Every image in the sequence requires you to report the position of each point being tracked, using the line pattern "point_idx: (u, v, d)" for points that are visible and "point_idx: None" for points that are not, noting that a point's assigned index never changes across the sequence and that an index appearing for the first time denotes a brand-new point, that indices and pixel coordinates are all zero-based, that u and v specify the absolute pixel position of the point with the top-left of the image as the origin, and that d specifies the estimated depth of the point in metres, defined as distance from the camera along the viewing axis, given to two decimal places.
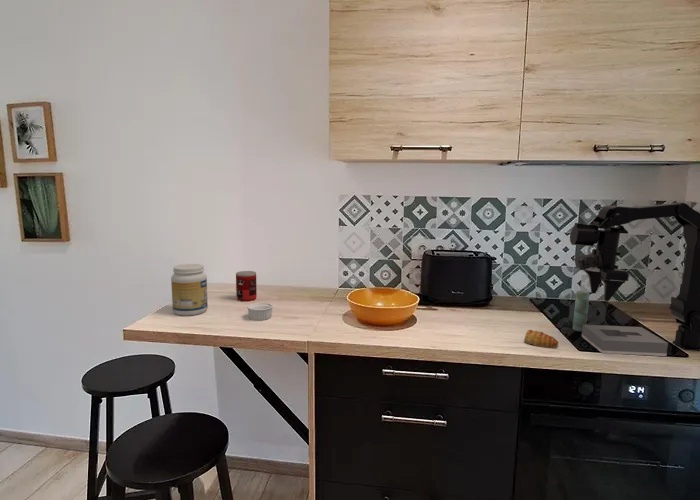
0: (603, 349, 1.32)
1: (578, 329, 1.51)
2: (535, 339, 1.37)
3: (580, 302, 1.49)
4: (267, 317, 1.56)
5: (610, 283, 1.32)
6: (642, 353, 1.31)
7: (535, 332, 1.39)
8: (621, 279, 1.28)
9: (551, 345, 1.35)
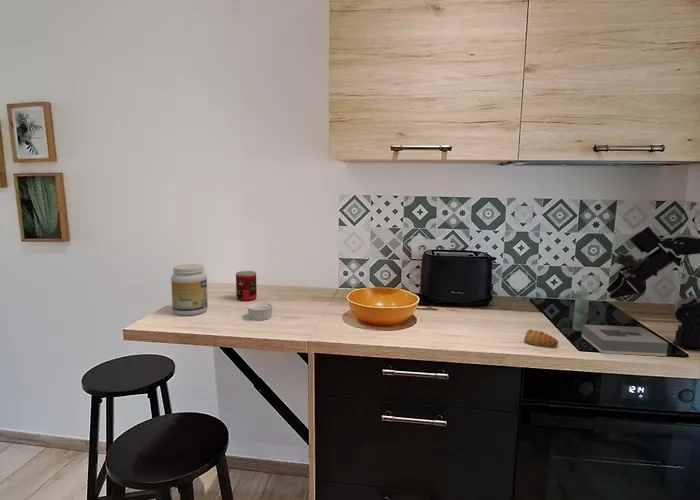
0: (603, 349, 1.32)
1: (578, 329, 1.51)
2: (535, 339, 1.37)
3: (580, 302, 1.49)
4: (267, 317, 1.56)
5: (626, 287, 1.40)
6: (642, 353, 1.31)
7: (535, 332, 1.39)
8: (636, 288, 1.35)
9: (551, 345, 1.35)
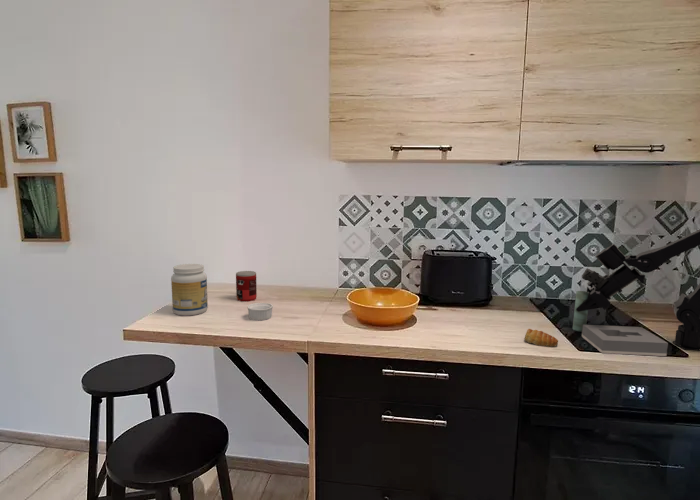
0: (603, 349, 1.32)
1: (578, 329, 1.51)
2: (535, 338, 1.37)
3: (580, 302, 1.49)
4: (267, 317, 1.56)
5: (591, 301, 1.47)
6: (642, 353, 1.31)
7: (535, 331, 1.40)
8: (600, 304, 1.40)
9: (551, 344, 1.36)
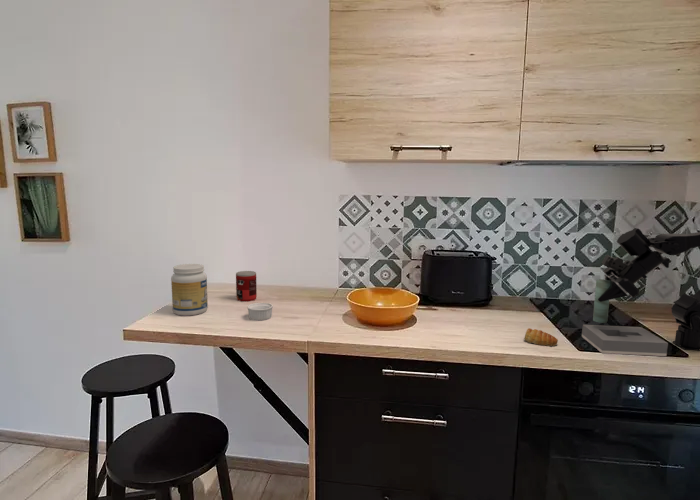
0: (603, 349, 1.32)
1: (600, 320, 1.40)
2: (535, 338, 1.38)
3: (602, 291, 1.39)
4: (267, 317, 1.56)
5: (614, 289, 1.36)
6: (642, 353, 1.31)
7: (535, 331, 1.40)
8: (629, 292, 1.30)
9: (551, 343, 1.36)
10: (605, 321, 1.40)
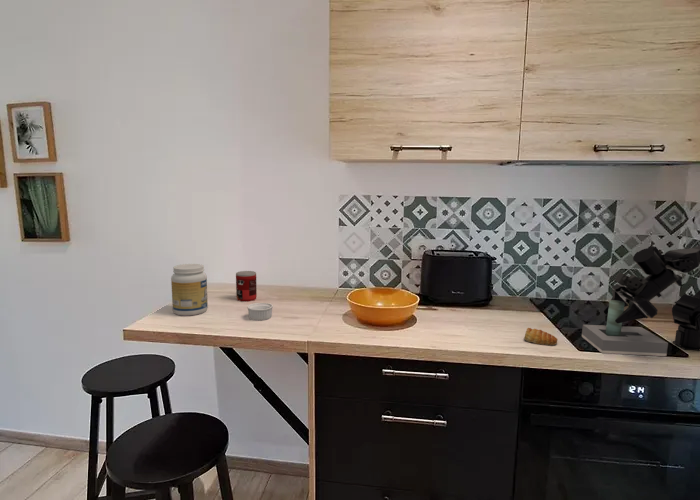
0: (603, 349, 1.32)
1: None
2: (535, 337, 1.38)
3: (616, 313, 1.35)
4: (267, 317, 1.56)
5: (633, 310, 1.30)
6: (642, 353, 1.31)
7: (534, 330, 1.41)
8: (648, 312, 1.26)
9: (551, 342, 1.37)
10: None
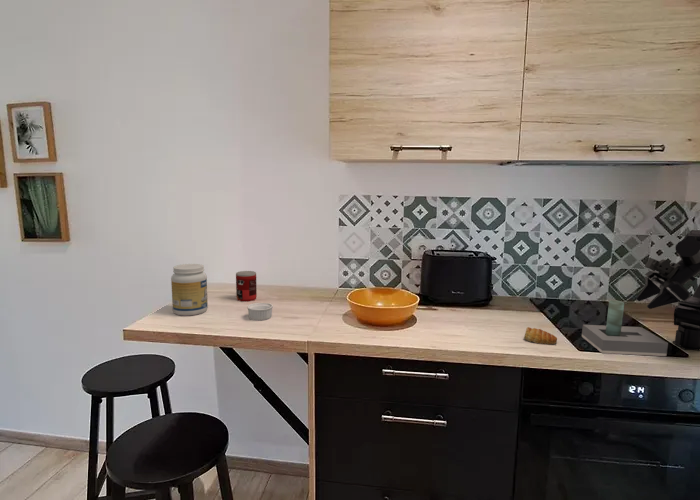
0: (603, 349, 1.32)
1: None
2: (535, 336, 1.39)
3: (616, 313, 1.35)
4: (267, 317, 1.56)
5: (665, 295, 1.29)
6: (642, 353, 1.31)
7: (534, 329, 1.41)
8: (680, 296, 1.24)
9: (551, 342, 1.38)
10: None
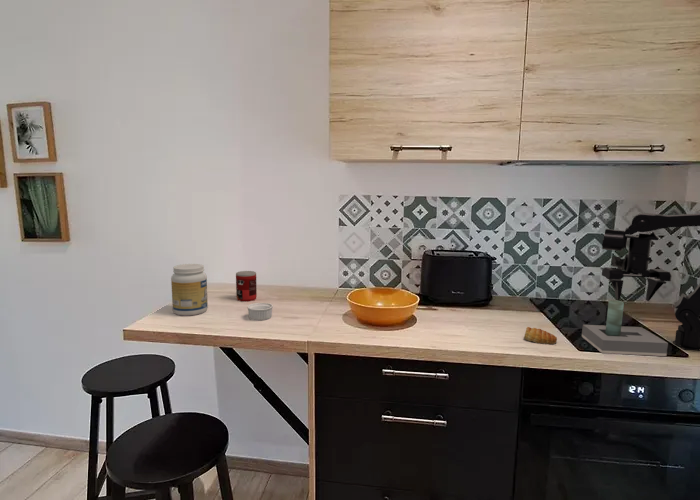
0: (603, 349, 1.32)
1: None
2: (535, 336, 1.39)
3: (616, 313, 1.35)
4: (267, 317, 1.56)
5: (615, 282, 1.45)
6: (642, 353, 1.31)
7: (534, 329, 1.42)
8: (606, 276, 1.44)
9: (551, 341, 1.38)
10: None
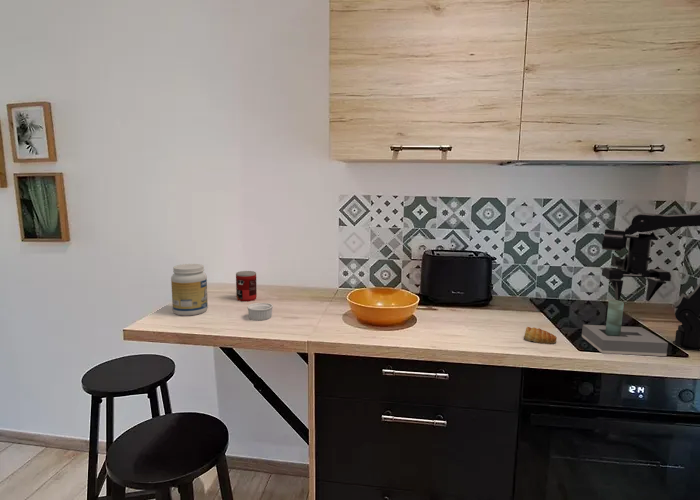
0: (603, 349, 1.32)
1: None
2: (535, 336, 1.39)
3: (616, 313, 1.35)
4: (267, 317, 1.56)
5: (615, 282, 1.45)
6: (642, 353, 1.31)
7: (534, 329, 1.42)
8: (606, 276, 1.44)
9: (551, 341, 1.38)
10: None
